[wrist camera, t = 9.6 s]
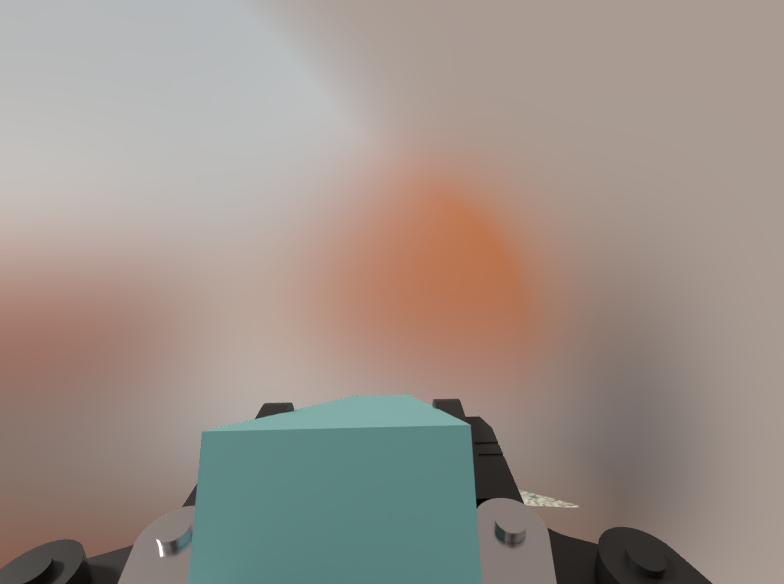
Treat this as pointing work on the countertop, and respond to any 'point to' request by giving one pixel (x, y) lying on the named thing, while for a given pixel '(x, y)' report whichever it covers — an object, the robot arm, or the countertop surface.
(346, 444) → the teal bar
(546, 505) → the countertop surface
